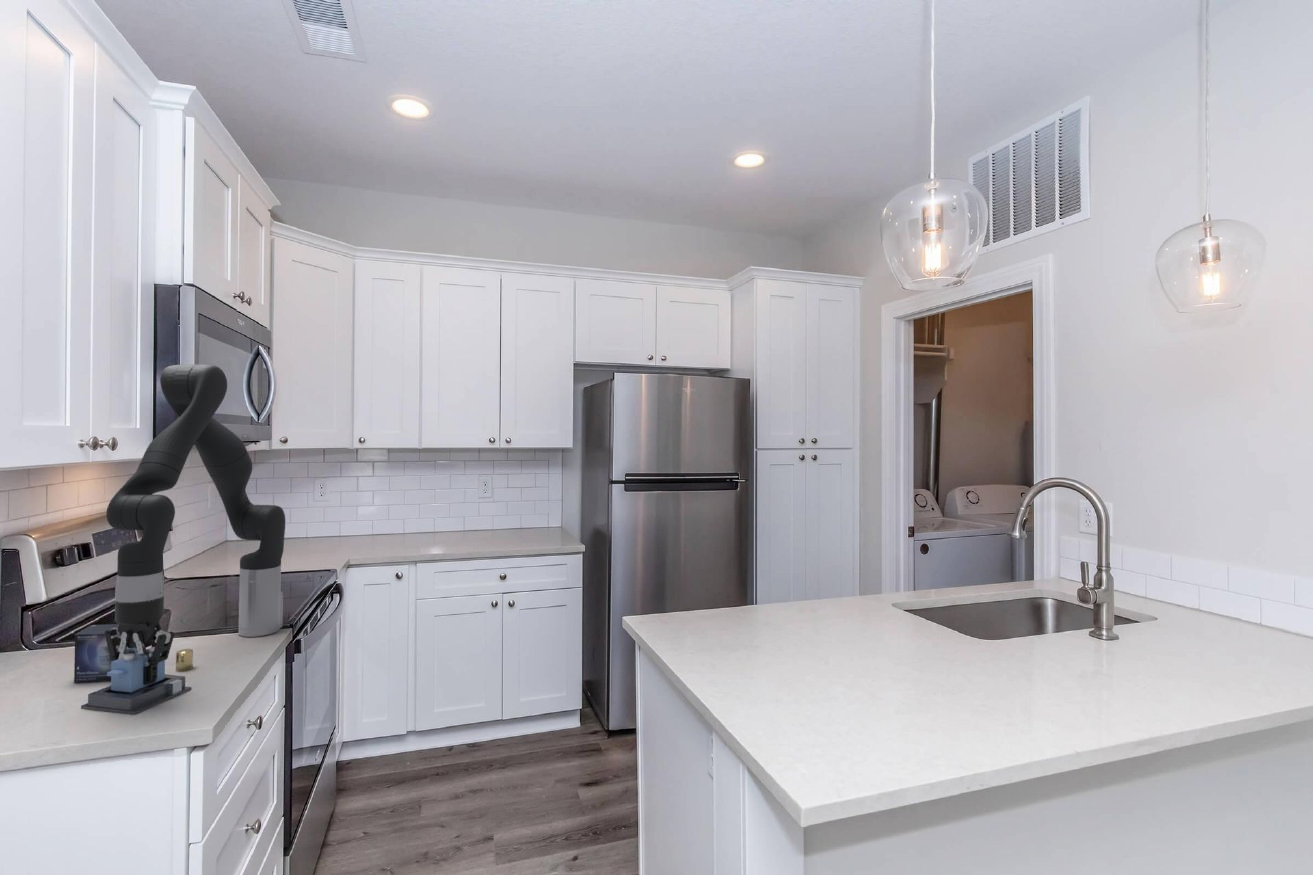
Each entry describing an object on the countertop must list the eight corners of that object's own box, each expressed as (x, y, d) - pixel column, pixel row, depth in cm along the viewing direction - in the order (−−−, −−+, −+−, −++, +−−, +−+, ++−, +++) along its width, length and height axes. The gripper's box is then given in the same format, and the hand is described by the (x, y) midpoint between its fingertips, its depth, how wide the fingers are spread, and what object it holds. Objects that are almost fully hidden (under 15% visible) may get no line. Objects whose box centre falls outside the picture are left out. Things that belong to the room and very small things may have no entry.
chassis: (141, 684, 134) (141, 671, 134) (191, 689, 132) (191, 676, 132) (80, 708, 122) (81, 694, 122) (134, 714, 120) (135, 700, 120)
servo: (153, 673, 132) (154, 641, 132) (172, 675, 132) (172, 643, 132) (102, 693, 122) (102, 659, 122) (122, 695, 121) (122, 661, 121)
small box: (71, 684, 133) (72, 633, 133) (89, 672, 139) (90, 624, 139) (131, 680, 136) (132, 630, 136) (147, 669, 142) (148, 621, 142)
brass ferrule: (184, 666, 144) (184, 648, 144) (196, 667, 144) (196, 649, 144) (172, 670, 141) (172, 652, 141) (184, 672, 141) (184, 653, 141)
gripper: (188, 593, 129) (186, 678, 129) (128, 588, 132) (126, 672, 132) (153, 603, 122) (151, 693, 122) (89, 598, 124) (88, 686, 124)
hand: (138, 681), depth 127 cm, fingers closed on servo, 4 cm apart
